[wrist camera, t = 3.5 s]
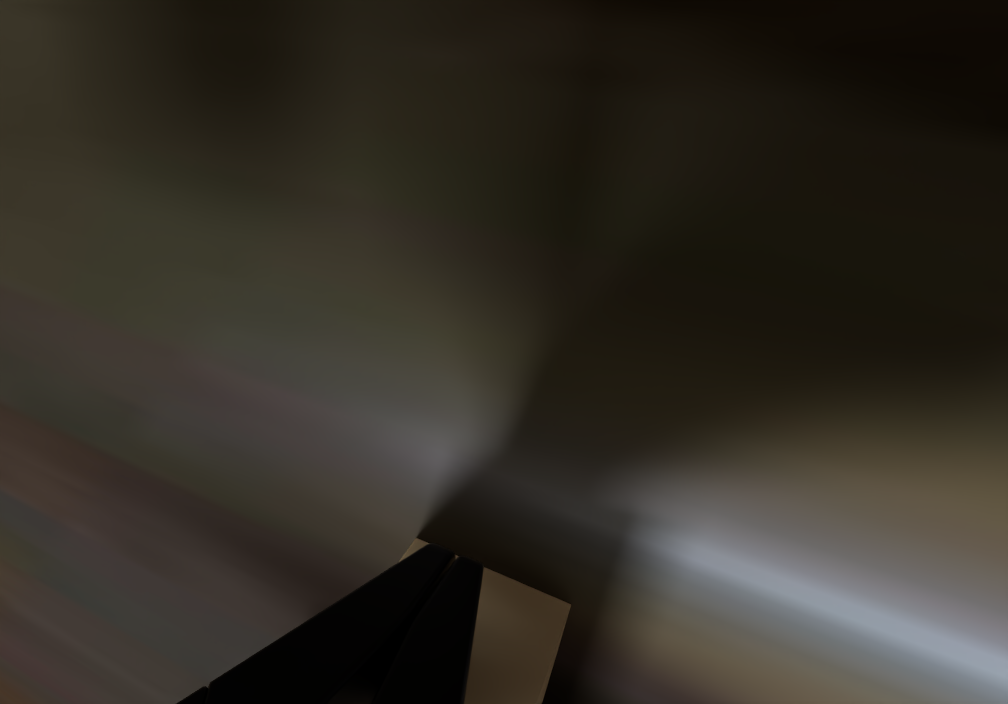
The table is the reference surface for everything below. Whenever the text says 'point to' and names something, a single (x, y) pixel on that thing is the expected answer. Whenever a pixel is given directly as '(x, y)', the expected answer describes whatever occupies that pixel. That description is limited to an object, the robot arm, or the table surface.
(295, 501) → the table surface
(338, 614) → the robot arm
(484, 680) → the bar
